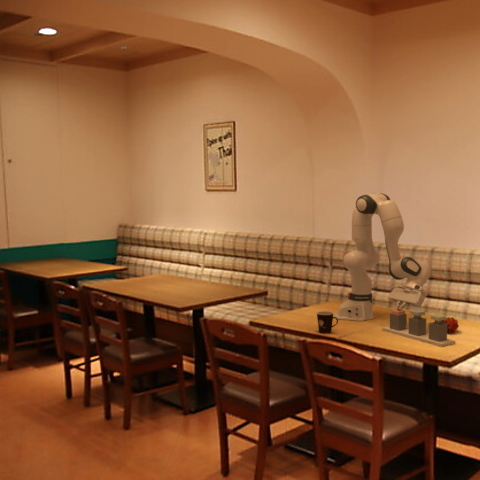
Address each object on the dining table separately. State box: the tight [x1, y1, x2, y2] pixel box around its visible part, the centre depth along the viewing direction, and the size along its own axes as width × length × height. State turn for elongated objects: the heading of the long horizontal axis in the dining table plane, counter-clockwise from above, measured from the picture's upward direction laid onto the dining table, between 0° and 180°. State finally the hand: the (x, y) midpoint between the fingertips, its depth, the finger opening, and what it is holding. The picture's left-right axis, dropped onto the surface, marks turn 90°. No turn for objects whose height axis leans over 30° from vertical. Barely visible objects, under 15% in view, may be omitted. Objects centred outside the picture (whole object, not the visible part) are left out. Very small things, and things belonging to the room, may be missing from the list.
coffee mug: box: [316, 310, 339, 334], centre depth 321 cm, size 12×9×10 cm
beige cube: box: [409, 309, 426, 319], centre depth 309 cm, size 5×5×5 cm
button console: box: [381, 313, 456, 348], centre depth 310 cm, size 38×10×10 cm, turn 33°
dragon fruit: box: [442, 316, 460, 334], centre depth 318 cm, size 8×8×12 cm
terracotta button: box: [390, 308, 406, 315], centre depth 320 cm, size 5×5×5 cm
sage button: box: [430, 314, 447, 325], centre depth 299 cm, size 5×5×5 cm
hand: (398, 309), depth 320 cm, fingers closed, pressing on terracotta button
